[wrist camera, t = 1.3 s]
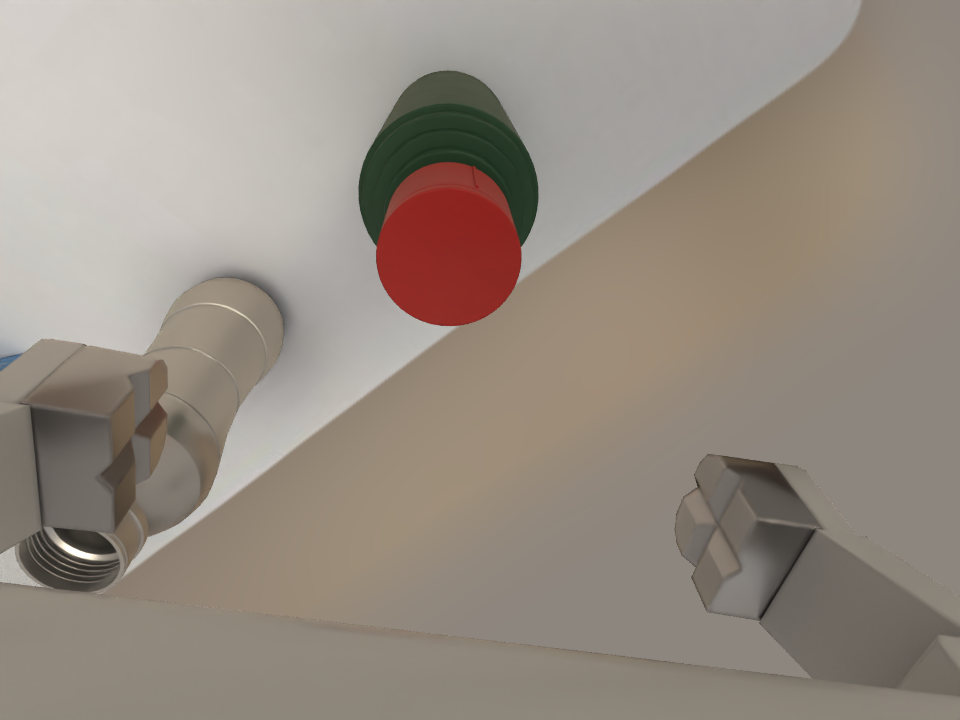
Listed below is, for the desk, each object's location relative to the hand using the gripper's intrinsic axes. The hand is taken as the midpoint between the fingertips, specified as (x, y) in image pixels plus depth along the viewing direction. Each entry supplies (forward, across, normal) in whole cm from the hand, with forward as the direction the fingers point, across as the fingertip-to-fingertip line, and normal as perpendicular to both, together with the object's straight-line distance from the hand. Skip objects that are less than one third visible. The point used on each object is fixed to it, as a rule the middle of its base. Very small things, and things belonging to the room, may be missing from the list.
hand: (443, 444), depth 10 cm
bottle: (+29, 0, 0) cm, 29 cm away
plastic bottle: (+29, +10, +13) cm, 34 cm away
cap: (+12, 0, 0) cm, 12 cm away
